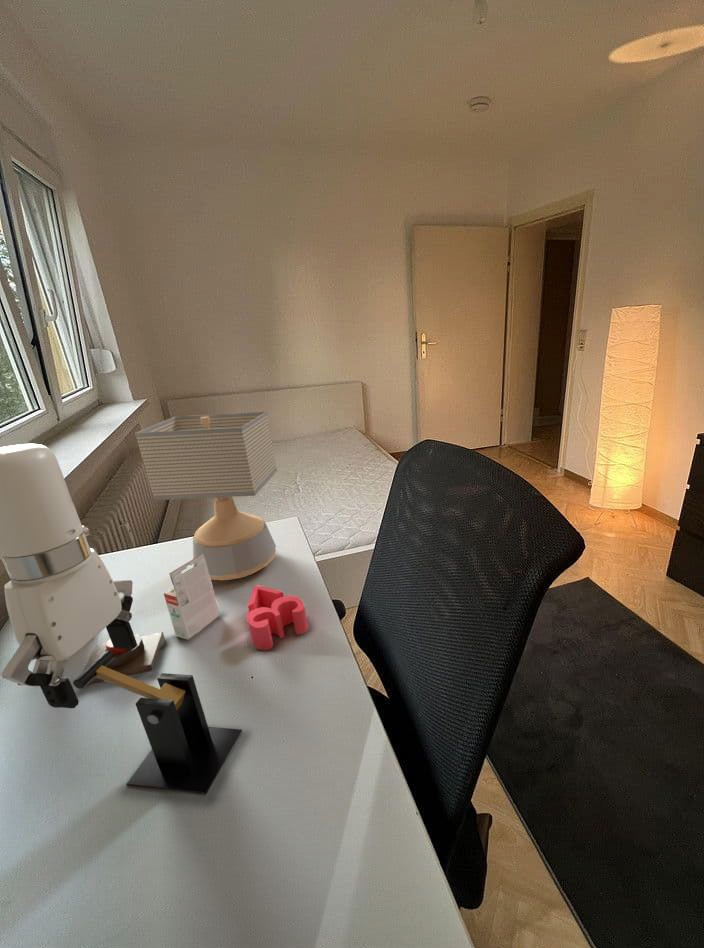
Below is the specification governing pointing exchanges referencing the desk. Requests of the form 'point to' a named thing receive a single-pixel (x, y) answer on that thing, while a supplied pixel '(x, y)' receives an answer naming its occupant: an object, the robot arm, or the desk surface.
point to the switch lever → (127, 681)
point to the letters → (273, 615)
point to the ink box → (191, 599)
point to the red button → (112, 649)
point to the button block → (132, 656)
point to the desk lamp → (216, 482)
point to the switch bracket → (181, 741)
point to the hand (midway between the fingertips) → (98, 674)
